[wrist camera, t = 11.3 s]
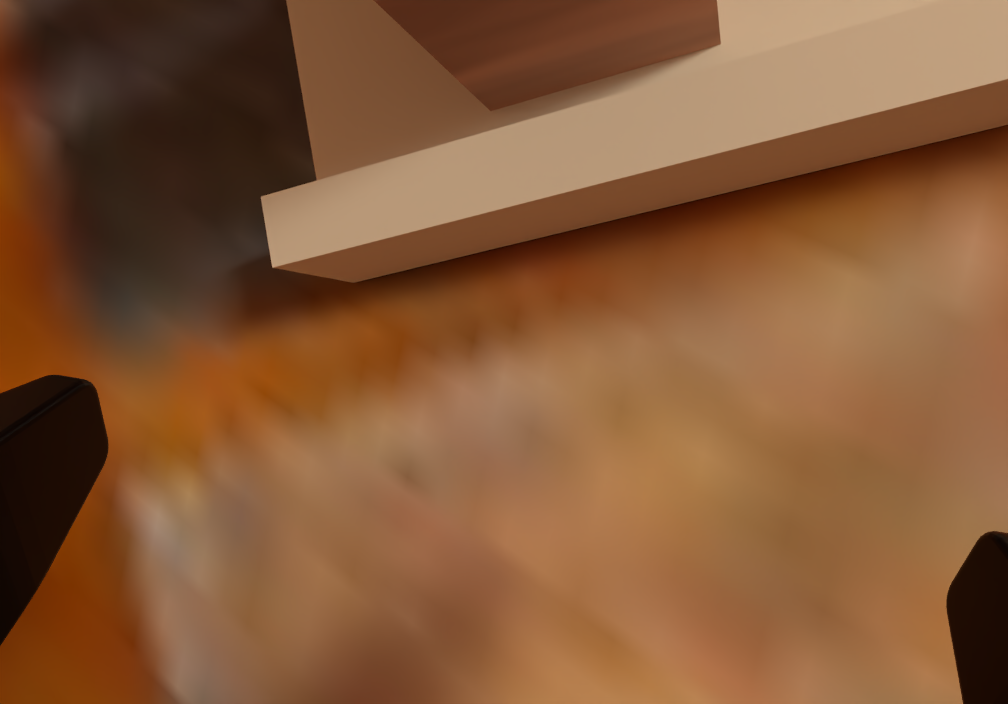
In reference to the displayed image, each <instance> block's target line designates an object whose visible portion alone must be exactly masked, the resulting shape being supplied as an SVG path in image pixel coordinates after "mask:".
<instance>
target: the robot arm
mask: <svg viewBox="0 0 1008 704" xmlns="http://www.w3.org/2000/svg"><path fill="white" fill-rule="evenodd" d="M107 454H108V437H107V433H106V428H105V424H104V420H103V415H102V411H101V406H100V402H99V397H98V393H97V390H96V388H95V387H94V385H93V384H92V383H91V382H89V381H87V380H84V379H79V378H73V377H67V376H61V375H48V376H44V377H42V378H39V379H36V380H34V381H31V382H29V383H26V384H24V385H21V386H18V387H16V388H13V389H11V390H8V391H5V392H3V393H0V645H1V644H2V642H3V641H4V639H5V638H6V636H7V635H8V633H9V632H10V631H11V629H12V628H13V626H14V625H15V623H16V622H17V620H18V619H19V617H20V616H21V614H22V613H23V611H24V610H25V608H26V606H27V605H28V603H29V602H30V600H31V599H32V597H33V595H34V594H35V592H36V591H37V589H38V587H39V586H40V584H41V582H42V580H43V579H44V577H45V575H46V573H47V572H48V570H49V568H50V566H51V564H52V562H53V561H54V559H55V557H56V555H57V553H58V551H59V549H60V547H61V545H62V544H63V542H64V540H65V538H66V536H67V534H68V532H69V530H70V528H71V527H72V525H73V523H74V521H75V519H76V517H77V515H78V513H79V511H80V510H81V508H82V506H83V504H84V502H85V500H86V498H87V496H88V494H89V493H90V491H91V489H92V487H93V485H94V483H95V481H96V479H97V477H98V476H99V474H100V472H101V470H102V468H103V466H104V464H105V461H106V458H107ZM947 615H948V621H949V626H950V632H951V638H952V643H953V649H954V655H955V660H956V666H957V672H958V677H959V683H960V689H961V694H962V700H963V704H1008V533H1004V532H998V531H992V532H987V533H985V534H984V535H982V536H981V537H980V538H979V539H978V541H977V542H976V544H975V545H974V547H973V549H972V550H971V552H970V553H969V555H968V557H967V558H966V560H965V562H964V563H963V565H962V567H961V568H960V570H959V571H958V573H957V575H956V576H955V578H954V580H953V581H952V583H951V585H950V587H949V590H948V594H947Z"/></svg>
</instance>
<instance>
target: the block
mask: <svg viewBox="0 0 1008 704" xmlns="http://www.w3.org/2000/svg"><path fill="white" fill-rule="evenodd" d="M374 1H375V2H376V3H377V4H378V5H379V6H380V7H381V8H382V9H383V10H384V11H385V12H386V13H387V14H389V15H390V16H391V17H392V18H393V19H394V20H395V21H396V22H397V23H398V24H399V25H400V26H401V27H402V28H403V29H404V30H405V31H406V32H407V33H409V34H410V35H411V36H412V37H413V38H414V39H415V40H416V41H417V42H418V43H419V44H420V45H421V46H422V47H423V48H424V49H425V50H426V51H428V52H429V53H430V54H431V55H432V56H433V57H434V58H435V59H436V60H437V61H438V62H439V63H440V64H441V65H442V66H443V67H444V68H445V69H446V70H448V71H449V72H450V73H451V74H452V75H453V76H454V77H455V78H456V79H457V80H458V81H459V82H460V83H461V84H462V85H463V86H464V87H465V88H467V89H468V90H469V91H470V92H471V93H472V94H473V95H474V96H475V97H476V98H477V99H478V100H479V101H480V102H481V103H482V104H483V105H484V106H485V107H487V108H488V109H489V110H490V111H493V110H497V109H500V108H503V107H507V106H510V105H514V104H517V103H521V102H524V101H527V100H531V99H534V98H538V97H541V96H545V95H548V94H551V93H555V92H558V91H562V90H565V89H569V88H572V87H575V86H579V85H582V84H586V83H589V82H593V81H596V80H599V79H603V78H606V77H610V76H613V75H617V74H620V73H623V72H627V71H630V70H634V69H637V68H641V67H644V66H647V65H651V64H654V63H658V62H661V61H665V60H668V59H672V58H675V57H678V56H682V55H685V54H689V53H692V52H696V51H699V50H702V49H706V48H709V47H713V46H716V45H720V44H721V39H720V28H719V17H718V6H717V0H374Z"/></svg>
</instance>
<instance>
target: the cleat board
mask: <svg viewBox="0 0 1008 704" xmlns="http://www.w3.org/2000/svg"><path fill="white" fill-rule="evenodd" d="M286 2H287V8H288V14H289V20H290V26H291V32H292V38H293V44H294V49H295V55H296V61H297V67H298V73H299V79H300V85H301V91H302V97H303V103H304V109H305V114H306V120H307V126H308V132H309V138H310V144H311V150H312V156H313V162H314V168H315V174H316V179H317V181H313V182H310V183H306V184H303V185H299V186H296V187H293V188H289V189H286V190H282V191H279V192H275V193H272V194H268V195H265V196H261V202H262V208H263V214H264V220H265V226H266V232H267V238H268V245H269V251H270V257H271V263H272V268H277V269H282V270H288V271H293V272H298V273H304V274H309V275H314V276H320V277H325V278H330V279H336V280H341V281H346V282H352V283H355V282H359V281H363V280H367V279H372V278H376V277H380V276H384V275H388V274H392V273H396V272H401V271H405V270H409V269H413V268H417V267H421V266H425V265H429V264H434V263H438V262H442V261H446V260H450V259H454V258H458V257H463V256H467V255H471V254H475V253H479V252H483V251H487V250H492V249H496V248H500V247H504V246H508V245H512V244H516V243H521V242H525V241H529V240H533V239H537V238H541V237H545V236H549V235H554V234H558V233H562V232H566V231H570V230H574V229H578V228H583V227H587V226H591V225H595V224H599V223H603V222H607V221H612V220H616V219H620V218H624V217H628V216H632V215H636V214H640V213H645V212H649V211H653V210H657V209H661V208H665V207H669V206H674V205H678V204H682V203H686V202H690V201H694V200H698V199H703V198H707V197H711V196H715V195H719V194H723V193H727V192H731V191H736V190H740V189H744V188H748V187H752V186H756V185H760V184H765V183H769V182H773V181H777V180H781V179H785V178H789V177H794V176H798V175H802V174H806V173H810V172H814V171H818V170H823V169H827V168H831V167H835V166H839V165H843V164H847V163H851V162H856V161H860V160H864V159H868V158H872V157H876V156H880V155H885V154H889V153H893V152H897V151H901V150H905V149H909V148H914V147H918V146H922V145H926V144H930V143H934V142H938V141H942V140H947V139H951V138H955V137H959V136H963V135H967V134H971V133H976V132H980V131H984V130H988V129H992V128H996V127H1000V126H1005V125H1008V0H717V6H718V17H719V28H720V39H721V44H720V45H716V46H713V47H709V48H706V49H702V50H699V51H696V52H692V53H689V54H685V55H682V56H678V57H675V58H672V59H668V60H665V61H661V62H658V63H654V64H651V65H647V66H644V67H641V68H637V69H634V70H630V71H627V72H623V73H620V74H617V75H613V76H610V77H606V78H603V79H599V80H596V81H593V82H589V83H586V84H582V85H579V86H575V87H572V88H569V89H565V90H562V91H558V92H555V93H551V94H548V95H545V96H541V97H538V98H534V99H531V100H527V101H524V102H521V103H517V104H514V105H510V106H507V107H503V108H500V109H497V110H493V111H490V110H489V109H488V108H487V107H485V106H484V105H483V104H482V103H481V102H480V101H479V100H478V99H477V98H476V97H475V96H474V95H473V94H472V93H471V92H470V91H469V90H468V89H467V88H465V87H464V86H463V85H462V84H461V83H460V82H459V81H458V80H457V79H456V78H455V77H454V76H453V75H452V74H451V73H450V72H449V71H448V70H446V69H445V68H444V67H443V66H442V65H441V64H440V63H439V62H438V61H437V60H436V59H435V58H434V57H433V56H432V55H431V54H430V53H429V52H428V51H426V50H425V49H424V48H423V47H422V46H421V45H420V44H419V43H418V42H417V41H416V40H415V39H414V38H413V37H412V36H411V35H410V34H409V33H407V32H406V31H405V30H404V29H403V28H402V27H401V26H400V25H399V24H398V23H397V22H396V21H395V20H394V19H393V18H392V17H391V16H390V15H389V14H387V13H386V12H385V11H384V10H383V9H382V8H381V7H380V6H379V5H378V4H377V3H376V2H375V1H374V0H286Z"/></svg>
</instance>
